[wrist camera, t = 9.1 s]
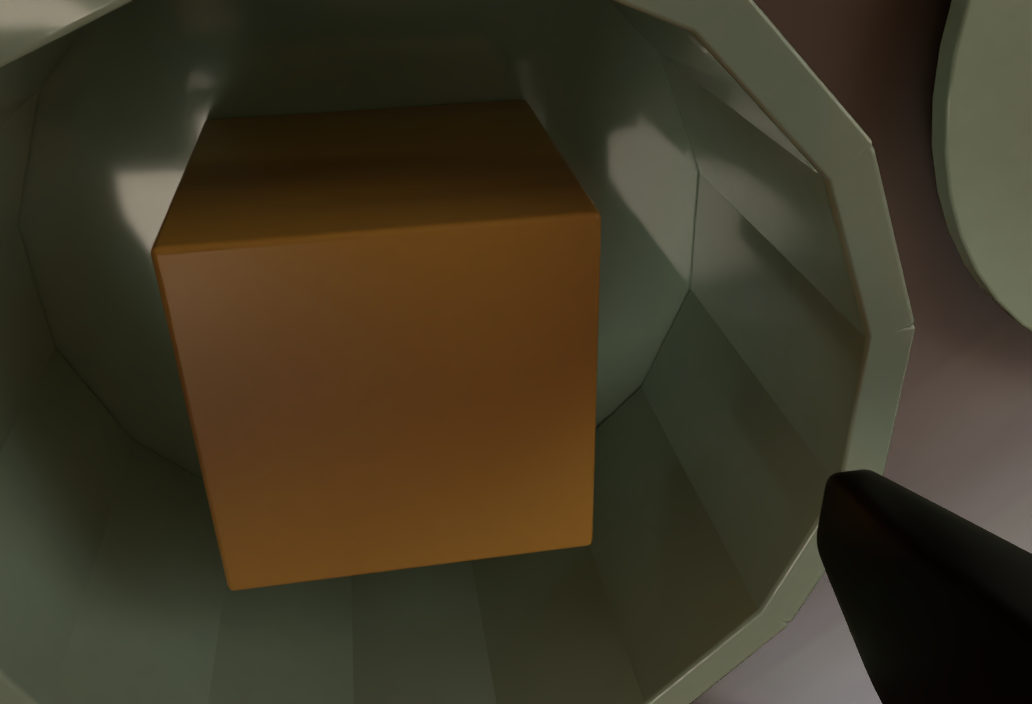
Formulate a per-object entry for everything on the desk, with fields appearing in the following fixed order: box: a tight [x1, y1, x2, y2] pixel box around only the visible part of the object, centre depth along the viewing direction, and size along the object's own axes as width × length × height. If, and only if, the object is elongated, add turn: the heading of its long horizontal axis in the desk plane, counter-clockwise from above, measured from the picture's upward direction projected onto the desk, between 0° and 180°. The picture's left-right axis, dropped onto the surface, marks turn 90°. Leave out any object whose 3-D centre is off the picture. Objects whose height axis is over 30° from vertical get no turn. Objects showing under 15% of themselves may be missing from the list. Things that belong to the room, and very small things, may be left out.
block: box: [151, 100, 601, 591], centre depth 14 cm, size 5×5×5 cm
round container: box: [0, 0, 915, 704], centre depth 14 cm, size 12×12×6 cm
